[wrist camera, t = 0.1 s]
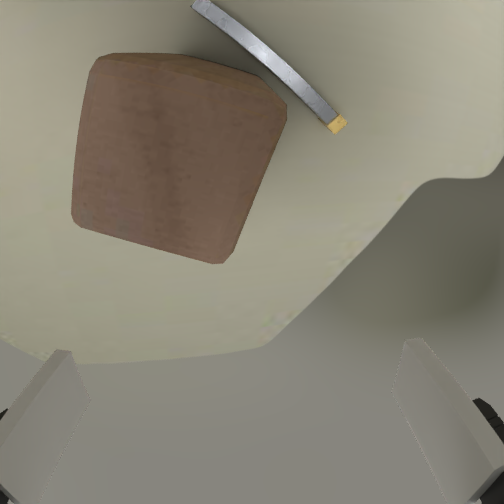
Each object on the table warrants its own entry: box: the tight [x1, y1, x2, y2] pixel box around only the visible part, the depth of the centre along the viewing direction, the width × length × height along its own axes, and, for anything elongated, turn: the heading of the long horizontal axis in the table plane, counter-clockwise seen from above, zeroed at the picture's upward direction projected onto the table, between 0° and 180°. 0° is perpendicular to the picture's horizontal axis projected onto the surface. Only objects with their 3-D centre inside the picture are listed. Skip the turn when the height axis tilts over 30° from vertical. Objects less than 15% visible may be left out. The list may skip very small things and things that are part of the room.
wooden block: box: [71, 53, 287, 264], centre depth 22 cm, size 10×10×20 cm
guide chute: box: [190, 0, 347, 134], centre depth 29 cm, size 18×19×4 cm
